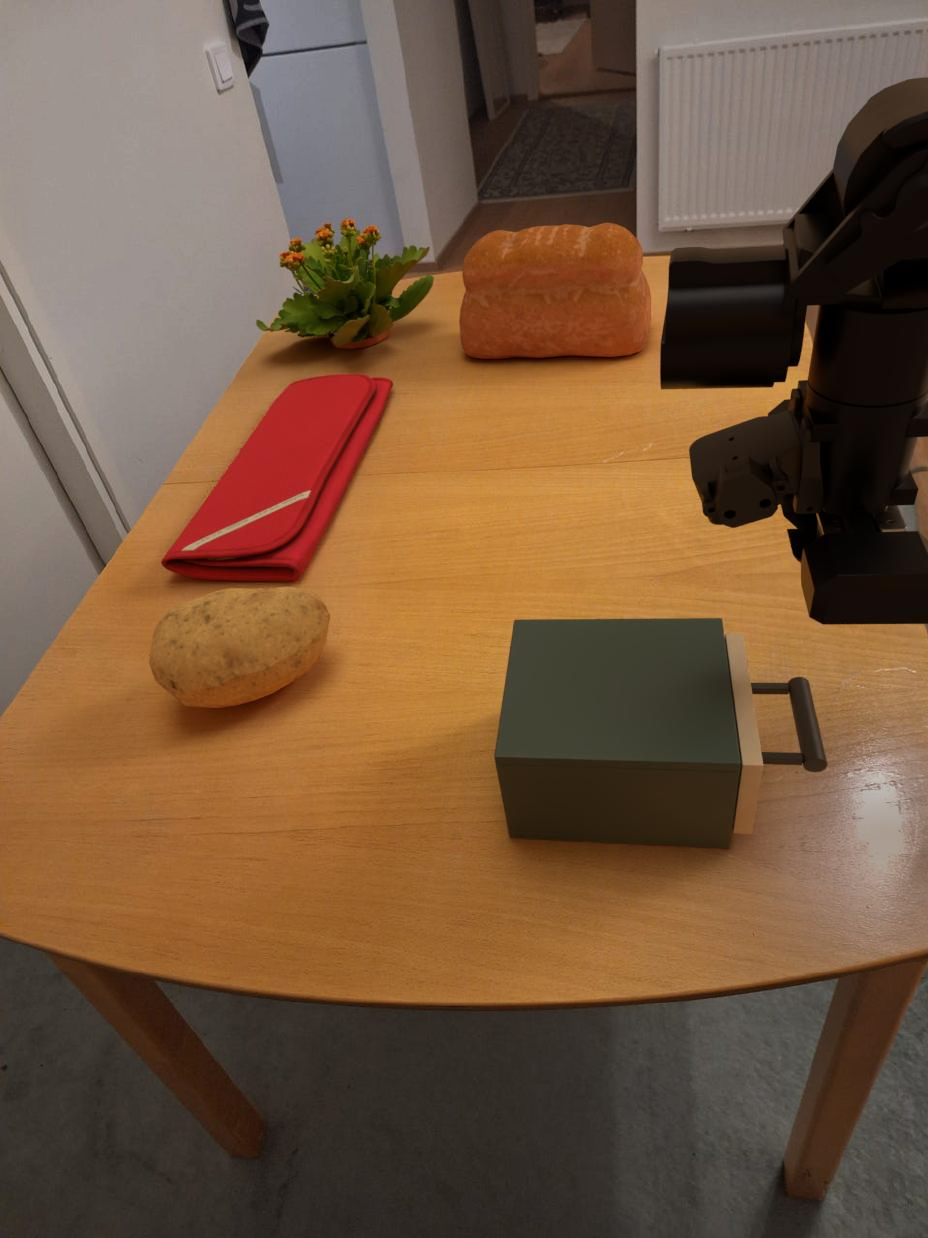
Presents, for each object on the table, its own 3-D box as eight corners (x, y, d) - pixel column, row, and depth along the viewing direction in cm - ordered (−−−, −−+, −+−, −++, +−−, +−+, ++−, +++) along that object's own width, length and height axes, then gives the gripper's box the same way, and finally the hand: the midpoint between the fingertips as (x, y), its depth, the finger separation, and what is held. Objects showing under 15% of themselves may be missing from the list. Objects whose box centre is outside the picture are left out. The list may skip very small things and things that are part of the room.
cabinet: (713, 704, 62) (722, 617, 56) (729, 849, 53) (741, 763, 47) (525, 702, 65) (513, 619, 59) (509, 838, 56) (493, 757, 50)
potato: (197, 650, 76) (157, 572, 69) (347, 637, 74) (320, 555, 68) (164, 734, 68) (116, 654, 62) (330, 721, 66) (298, 638, 60)
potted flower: (349, 299, 139) (323, 188, 127) (470, 307, 128) (453, 187, 117) (259, 364, 124) (220, 245, 112) (387, 379, 113) (358, 249, 102)
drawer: (795, 703, 60) (809, 632, 55) (822, 837, 52) (841, 767, 47) (555, 700, 63) (548, 633, 59) (545, 825, 55) (536, 759, 50)
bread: (478, 325, 123) (464, 218, 113) (654, 319, 115) (656, 205, 105) (455, 365, 113) (437, 253, 103) (645, 362, 106) (645, 241, 96)
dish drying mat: (397, 389, 110) (391, 363, 108) (306, 583, 81) (296, 554, 78) (290, 396, 114) (282, 371, 111) (166, 584, 84) (152, 556, 82)
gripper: (692, 318, 49) (682, 525, 60) (718, 489, 36) (700, 719, 46) (890, 302, 47) (844, 520, 57) (997, 478, 34) (912, 722, 44)
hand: (821, 608), depth 51 cm, fingers closed
